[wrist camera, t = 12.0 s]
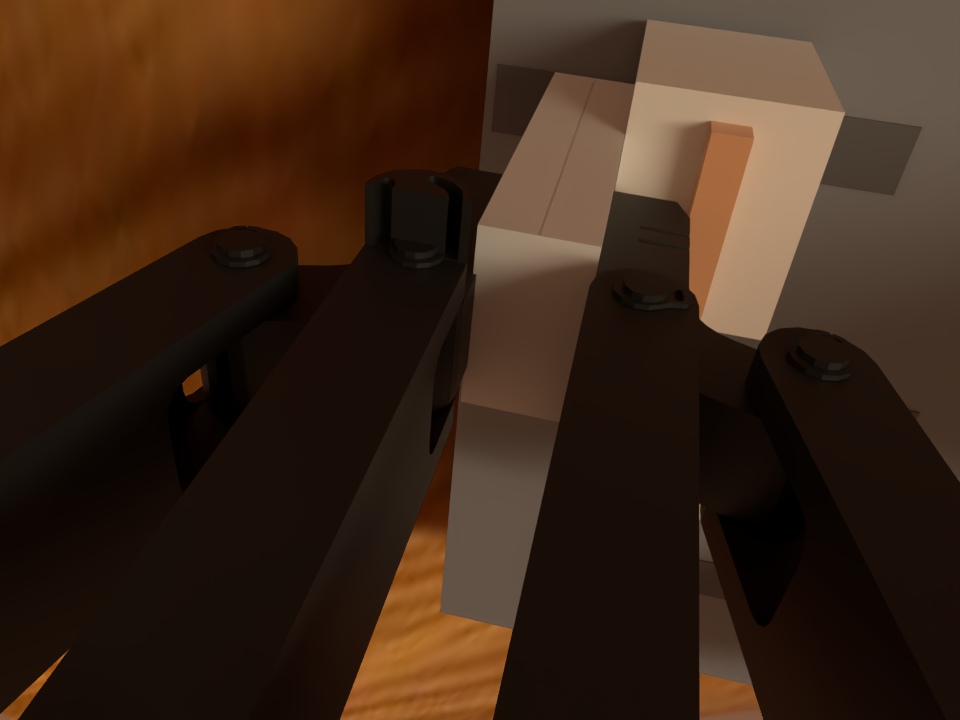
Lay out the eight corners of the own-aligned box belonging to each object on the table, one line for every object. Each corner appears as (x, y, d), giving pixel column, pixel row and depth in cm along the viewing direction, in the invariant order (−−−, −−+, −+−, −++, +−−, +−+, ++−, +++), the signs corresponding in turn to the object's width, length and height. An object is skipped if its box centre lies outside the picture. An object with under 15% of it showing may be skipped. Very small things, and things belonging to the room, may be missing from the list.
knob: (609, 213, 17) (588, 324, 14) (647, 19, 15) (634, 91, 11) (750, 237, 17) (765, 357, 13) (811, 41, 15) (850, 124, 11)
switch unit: (471, 513, 31) (438, 620, 27) (547, -170, 18) (507, -158, 14) (839, 594, 30) (863, 720, 26) (1220, -94, 16) (1392, -56, 12)
